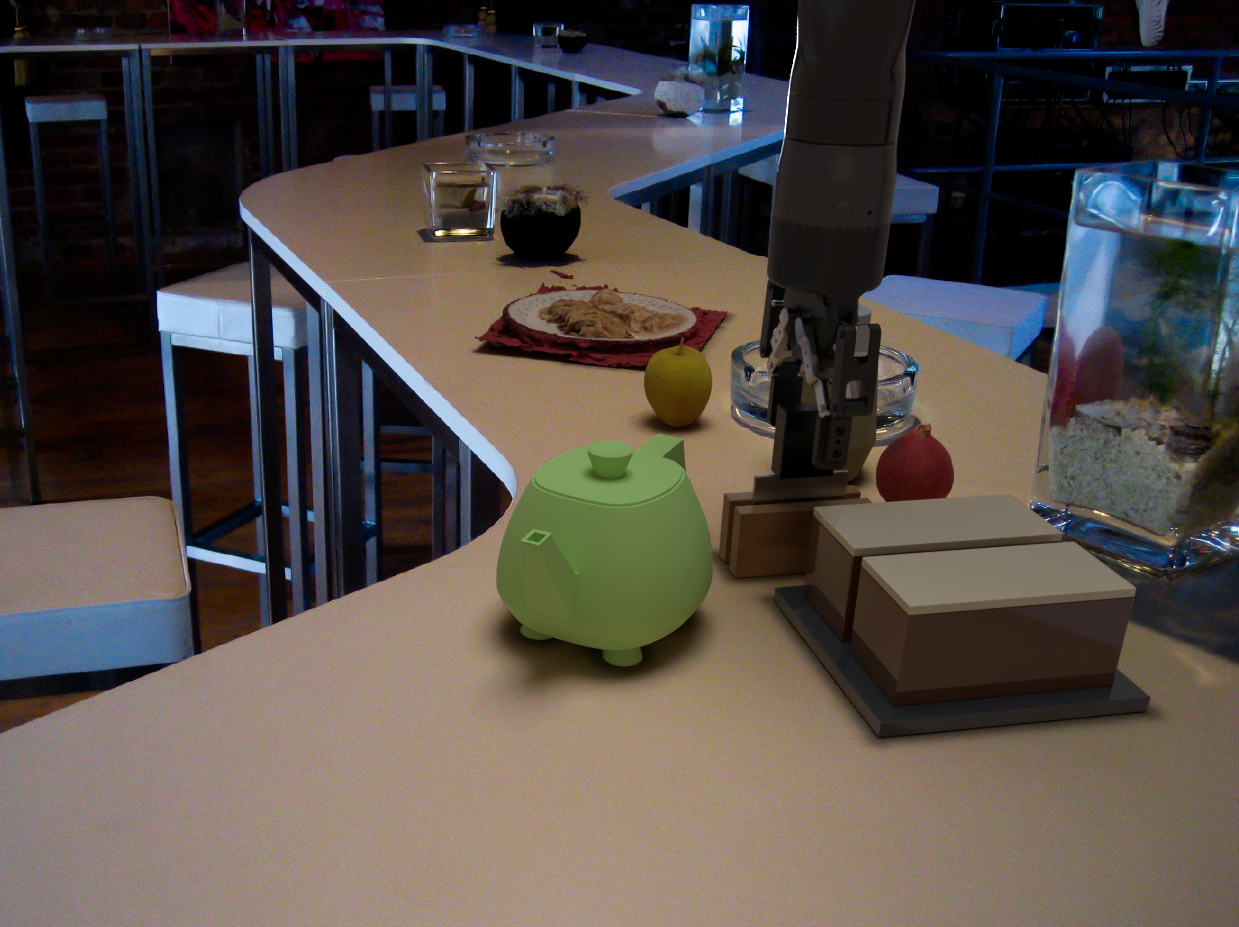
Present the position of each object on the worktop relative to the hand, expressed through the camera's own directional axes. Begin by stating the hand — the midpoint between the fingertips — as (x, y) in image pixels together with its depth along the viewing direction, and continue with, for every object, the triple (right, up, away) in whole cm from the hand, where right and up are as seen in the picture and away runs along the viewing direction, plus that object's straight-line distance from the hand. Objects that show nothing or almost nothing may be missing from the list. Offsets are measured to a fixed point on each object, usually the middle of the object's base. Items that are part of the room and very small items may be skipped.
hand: (804, 445), depth 89 cm
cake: (+7, -14, -8) cm, 17 cm away
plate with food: (-10, +17, +58) cm, 62 cm away
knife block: (0, -8, +4) cm, 9 cm away
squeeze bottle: (+6, -1, +20) cm, 21 cm away
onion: (+11, -5, +11) cm, 17 cm away
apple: (-5, +4, +31) cm, 32 cm away
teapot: (-14, -12, -5) cm, 20 cm away
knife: (0, -8, +4) cm, 9 cm away
